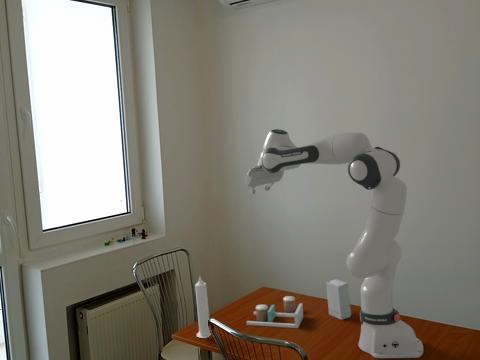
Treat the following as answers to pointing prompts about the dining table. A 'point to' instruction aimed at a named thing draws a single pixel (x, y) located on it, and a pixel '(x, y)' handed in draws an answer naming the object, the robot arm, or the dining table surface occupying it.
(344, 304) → the skincare box
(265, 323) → the lane
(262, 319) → the jar front
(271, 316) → the plate
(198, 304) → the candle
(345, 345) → the dining table surface
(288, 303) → the jar
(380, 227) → the robot arm
